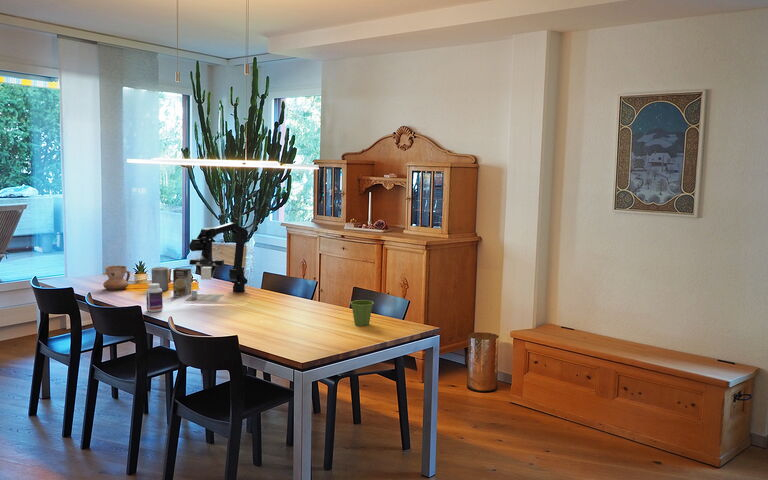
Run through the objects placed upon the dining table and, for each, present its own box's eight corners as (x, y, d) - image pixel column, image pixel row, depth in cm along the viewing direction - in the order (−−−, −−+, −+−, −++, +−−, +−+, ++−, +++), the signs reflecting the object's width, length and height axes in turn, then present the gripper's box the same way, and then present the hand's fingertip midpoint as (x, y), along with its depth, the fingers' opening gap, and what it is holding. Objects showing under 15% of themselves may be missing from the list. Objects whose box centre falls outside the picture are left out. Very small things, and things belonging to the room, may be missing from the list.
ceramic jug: (109, 292, 400) (109, 269, 398) (96, 289, 408) (96, 266, 407) (136, 289, 414) (136, 266, 412) (123, 286, 423) (123, 263, 421)
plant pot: (350, 321, 337) (351, 299, 336) (374, 322, 336) (374, 300, 335) (348, 327, 325) (349, 304, 324) (373, 327, 325) (373, 305, 323)
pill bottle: (166, 310, 355) (165, 283, 353) (155, 313, 347) (154, 286, 346) (154, 308, 358) (153, 282, 356) (143, 311, 351) (142, 284, 349)
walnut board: (224, 296, 394) (224, 294, 394) (216, 303, 374) (216, 301, 374) (193, 296, 394) (193, 294, 394) (184, 303, 374) (184, 300, 374)
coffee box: (172, 296, 392) (172, 269, 390) (177, 294, 398) (176, 267, 396) (187, 297, 391) (187, 270, 389) (191, 295, 397) (191, 268, 395)
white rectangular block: (212, 278, 387) (212, 266, 386) (210, 279, 381) (210, 268, 381) (203, 277, 386) (203, 266, 386) (201, 279, 381) (201, 267, 380)
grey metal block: (197, 298, 381) (197, 289, 381) (196, 299, 378) (196, 290, 378) (192, 298, 381) (192, 289, 380) (191, 299, 378) (191, 290, 378)
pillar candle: (162, 288, 417) (161, 264, 415) (171, 290, 411) (171, 266, 409) (148, 290, 409) (147, 266, 407) (158, 292, 403) (157, 268, 401)
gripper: (186, 251, 374) (186, 278, 375) (220, 252, 375) (220, 279, 376) (192, 249, 385) (191, 275, 387) (224, 250, 386) (224, 276, 387)
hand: (206, 277), depth 384 cm, fingers closed on white rectangular block, 5 cm apart
